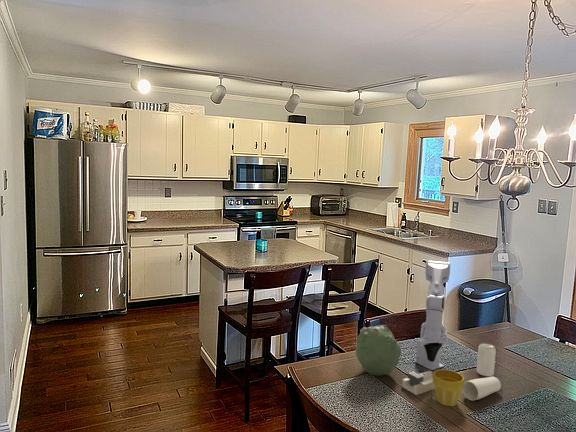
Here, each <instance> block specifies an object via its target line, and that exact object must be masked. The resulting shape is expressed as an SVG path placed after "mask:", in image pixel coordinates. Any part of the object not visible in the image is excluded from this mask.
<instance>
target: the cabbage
mask: <svg viewBox="0 0 576 432" xmlns="http://www.w3.org/2000/svg"><path fill="white" fill-rule="evenodd" d="M359 332H360V333H359V334H358V335H356V346H355V355H356V359H357V361H358V363H360V365H361V366H362V368H363V369H364V371H365V372H367V373H369V374H371V375H372V376H376V377H377V376H378V377H381V376H384V375H389V374H391V372H392V371H393V372H394V370H395V369H396V366H397V365H398V364H399V361H400V358H401V352H402V350H401V349H402V348H401V345H400V344H399V342H397V341H398V340H396V339H395V337H394V334H393V332H392V331H391V330H390V328H389V327H388V326H387V325H386V324H377V325H375V326H374V325H371V326H368V327H365V326H364V327H362V328H360V330H359Z"/></svg>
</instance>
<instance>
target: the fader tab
mask: <svg viewBox="0 0 576 432" xmlns="http://www.w3.org/2000/svg"><path fill="white" fill-rule="evenodd" d="M406 376H407V377H406V378H408V379H410V385H411V386H413V387H414V385H417V384H419V383H421V382H423V376H422V375H420V373H418V372H416V371H414V370H412V371H409V372H407V374H406Z"/></svg>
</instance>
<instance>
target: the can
mask: <svg viewBox="0 0 576 432" xmlns="http://www.w3.org/2000/svg"><path fill="white" fill-rule="evenodd" d="M477 350H478V351H477V361H476V373H477V374H479V376H483V377H485V378H487V377H491V376H493V377H494V373H495V367H496V366H495V365H496V346H495V345H494V344H492V343H490V342H480V343H479V346H478V348H477Z"/></svg>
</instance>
